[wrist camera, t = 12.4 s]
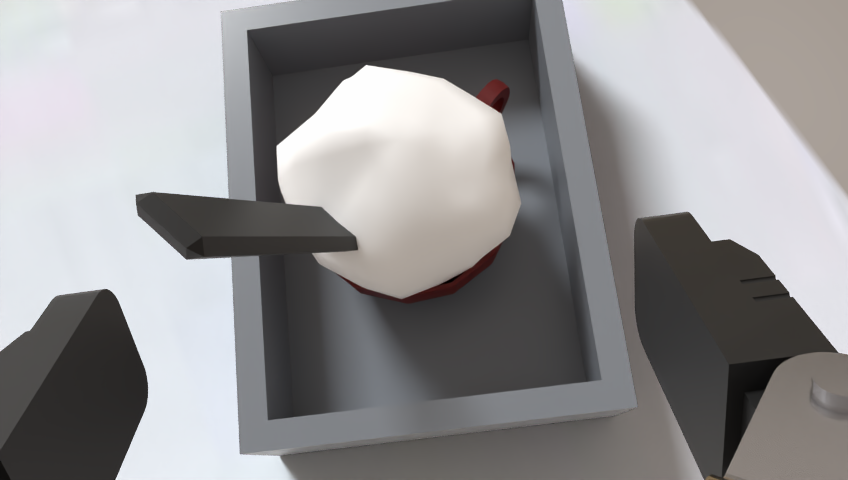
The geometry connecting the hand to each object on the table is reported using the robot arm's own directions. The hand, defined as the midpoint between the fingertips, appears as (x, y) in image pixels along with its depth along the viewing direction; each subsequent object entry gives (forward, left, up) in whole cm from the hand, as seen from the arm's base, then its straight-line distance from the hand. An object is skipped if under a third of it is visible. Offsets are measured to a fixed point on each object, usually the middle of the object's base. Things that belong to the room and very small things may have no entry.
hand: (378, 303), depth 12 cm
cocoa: (0, +5, -13) cm, 14 cm away
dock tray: (0, +5, -13) cm, 14 cm away
